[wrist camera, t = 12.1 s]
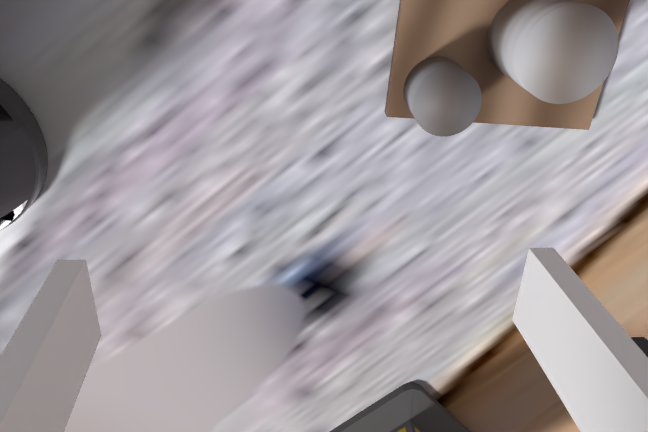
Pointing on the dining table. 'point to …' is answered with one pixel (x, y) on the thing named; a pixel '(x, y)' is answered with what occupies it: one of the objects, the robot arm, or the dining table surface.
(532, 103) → the carrier board
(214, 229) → the dining table surface
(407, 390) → the lantern
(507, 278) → the dining table surface
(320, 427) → the dining table surface
